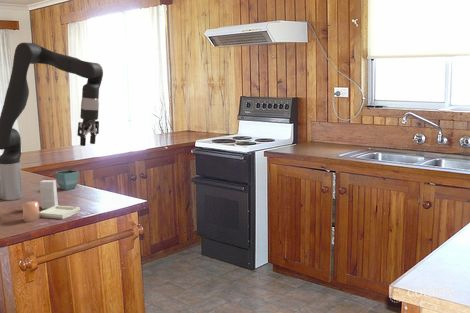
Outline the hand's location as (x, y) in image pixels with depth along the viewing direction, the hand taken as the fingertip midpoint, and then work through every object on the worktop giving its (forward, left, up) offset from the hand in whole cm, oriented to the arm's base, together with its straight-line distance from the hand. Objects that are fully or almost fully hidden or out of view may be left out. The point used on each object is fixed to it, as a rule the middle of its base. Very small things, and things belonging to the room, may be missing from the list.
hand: (87, 144), depth 222 cm
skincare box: (-15, -9, -28) cm, 33 cm away
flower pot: (-29, +24, -28) cm, 47 cm away
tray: (-4, -17, -27) cm, 33 cm away
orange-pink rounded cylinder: (-10, -27, -27) cm, 40 cm away
